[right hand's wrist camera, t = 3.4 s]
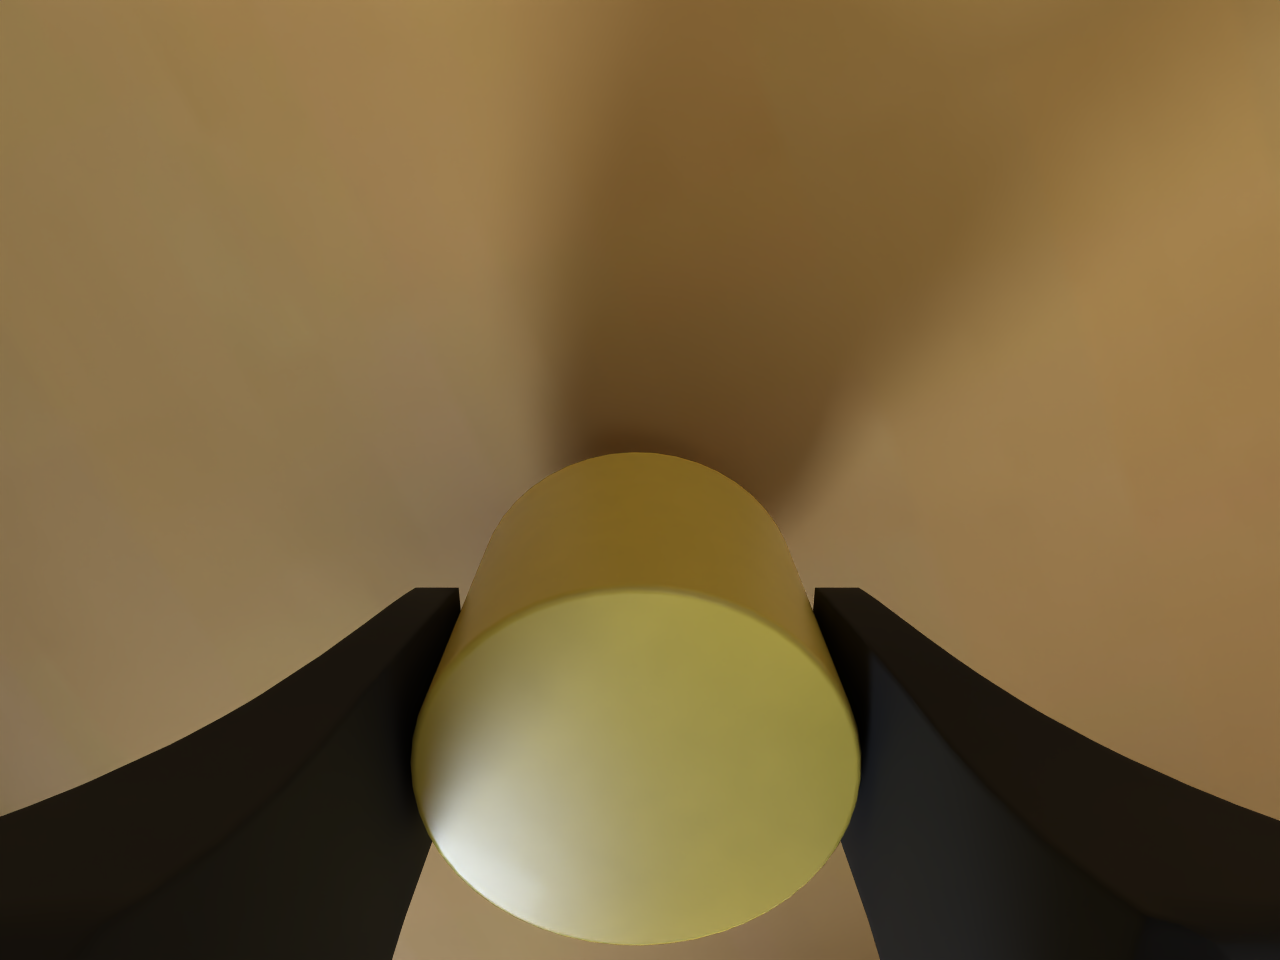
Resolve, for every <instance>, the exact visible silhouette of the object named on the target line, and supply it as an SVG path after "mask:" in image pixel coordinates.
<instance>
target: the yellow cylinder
mask: <svg viewBox="0 0 1280 960" xmlns="http://www.w3.org/2000/svg"><path fill="white" fill-rule="evenodd" d="M410 763H411V775H412V786H413V791H414V795H415V799H416V803H417V807H418V811H419V814H420V816H421V819H422V821H423V823H424V826H425V828H426V830H427V833H428V835H429V836H430V838H431V840H432V841H433V843H434V845H435V846H436V848H437V850H438V851H439V853H440V854H441V856H442V857H443V858H444V859H445V861H446V862H447V863H448V864H449V865H450V867H451V868H452V869H453V870H454V872H455V873H456V874H457V875H458V876H459V877H460V878H461V879H463V880H464V881H465V882H466V883H467V884H468V885H469V886H470V887H471V888H472V889H473V890H474V891H476V892H477V893H478V894H480V895H481V896H482V897H484V898H485V899H487V900H488V901H489V902H491V903H492V904H493V905H495V906H497V907H498V908H500V909H502V910H504V911H505V912H507V913H509V914H510V915H512V916H514V917H516V918H518V919H520V920H522V921H525V922H527V923H529V924H532V925H534V926H536V927H538V928H541V929H544V930H547V931H550V932H553V933H556V934H560V935H563V936H566V937H571V938H576V939H580V940H585V941H589V942H597V943H605V944H614V945H656V944H670V943H676V942H682V941H688V940H694V939H698V938H702V937H706V936H709V935H713V934H717V933H721V932H723V931H726V930H728V929H731V928H734V927H736V926H739V925H742V924H744V923H746V922H748V921H750V920H752V919H754V918H756V917H758V916H760V915H762V914H764V913H766V912H768V911H770V910H771V909H773V908H774V907H776V906H777V905H779V904H780V903H782V902H784V901H785V900H787V899H788V898H789V897H791V896H792V895H793V894H794V893H795V892H797V891H798V890H799V889H800V888H801V887H803V886H804V885H805V884H806V883H808V881H809V880H810V879H811V878H812V877H813V876H814V875H815V874H816V873H817V872H818V871H819V870H820V869H821V868H822V867H823V865H824V864H825V863H826V862H827V860H828V859H829V857H830V856H831V855H832V853H833V852H834V850H835V849H836V848H837V846H838V844H839V843H840V841H841V839H842V837H843V835H844V833H845V831H846V829H847V827H848V825H849V823H850V820H851V817H852V814H853V811H854V808H855V805H856V802H857V797H858V791H859V785H860V780H861V746H860V740H859V733H858V727H857V724H856V721H855V718H854V715H853V712H852V709H851V706H850V704H849V701H848V698H847V696H846V693H845V691H844V688H843V686H842V683H841V681H840V678H839V676H838V673H837V671H836V668H835V666H834V663H833V661H832V658H831V656H830V653H829V650H828V648H827V645H826V643H825V640H824V638H823V635H822V633H821V630H820V628H819V625H818V623H817V620H816V618H815V615H814V613H813V610H812V608H811V605H810V603H809V600H808V597H807V595H806V592H805V590H804V587H803V585H802V582H801V580H800V577H799V575H798V572H797V570H796V567H795V565H794V562H793V560H792V557H791V555H790V552H789V549H788V547H787V544H786V542H785V540H784V538H783V536H782V534H781V532H780V530H779V529H778V527H777V525H776V524H775V522H774V521H773V519H772V518H771V517H770V515H769V514H768V512H767V511H766V510H765V509H764V508H763V506H762V505H761V504H760V503H759V502H758V501H757V500H756V499H755V498H754V497H753V496H752V495H751V494H750V493H748V492H747V491H746V490H745V489H743V488H742V487H741V486H740V485H738V484H737V483H736V482H734V481H733V480H731V479H729V478H728V477H726V476H724V475H723V474H721V473H719V472H718V471H716V470H713V469H711V468H709V467H706V466H704V465H702V464H699V463H697V462H694V461H690V460H687V459H683V458H680V457H676V456H670V455H664V454H658V453H641V452H629V453H618V454H608V455H604V456H599V457H595V458H590V459H587V460H584V461H581V462H578V463H575V464H572V465H570V466H567V467H565V468H563V469H561V470H559V471H557V472H555V473H553V474H551V475H549V476H548V477H546V478H545V479H543V480H542V481H540V482H539V483H537V484H536V485H534V486H533V487H532V488H530V489H529V490H528V491H527V492H526V493H525V494H524V495H523V496H522V497H520V498H519V499H518V500H517V501H516V502H515V503H514V504H513V506H512V507H511V508H510V509H509V510H508V512H507V513H506V514H505V515H504V516H503V518H502V520H501V521H500V523H499V524H498V526H497V528H496V529H495V531H494V533H493V534H492V537H491V539H490V541H489V544H488V546H487V548H486V551H485V553H484V556H483V558H482V560H481V563H480V565H479V568H478V570H477V573H476V575H475V578H474V580H473V582H472V585H471V587H470V590H469V592H468V595H467V597H466V599H465V602H464V604H463V607H462V609H461V612H460V614H459V617H458V619H457V621H456V624H455V626H454V629H453V631H452V634H451V636H450V639H449V641H448V643H447V646H446V648H445V651H444V653H443V656H442V658H441V661H440V663H439V665H438V668H437V670H436V673H435V675H434V678H433V680H432V682H431V685H430V687H429V690H428V692H427V695H426V697H425V700H424V702H423V704H422V707H421V709H420V712H419V714H418V718H417V722H416V726H415V730H414V734H413V738H412V749H411V762H410Z"/></svg>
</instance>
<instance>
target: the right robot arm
mask: <svg viewBox="0 0 1280 960" xmlns="http://www.w3.org/2000/svg"><path fill="white" fill-rule="evenodd" d="M460 612H461V608H460V598H459V588H414V589H413V590H411V591H410V592H408V593H406V594H405V595H403V596H402V597H400V598H399V599H398V600H396V601H395V602H393V603H392V604H391V605H389V606H388V607H387V608H385V609H384V610H383V611H381V612H380V613H378V614H377V615H376V616H374V617H373V618H372V619H370V620H369V621H368V622H366V623H365V624H364V625H362V626H361V627H359V628H358V629H357V630H355V631H354V632H353V633H351V634H350V635H348V636H347V637H346V638H344V639H343V640H341V641H340V642H339V643H337V644H336V645H335V646H333V647H332V648H330V649H329V650H328V651H326V652H325V653H323V654H322V655H321V656H319V657H318V658H316V659H315V660H313V661H312V662H310V663H308V664H307V665H305V666H304V667H302V668H301V669H299V670H298V671H296V672H295V673H293V674H292V675H290V676H289V677H287V678H286V679H284V680H283V681H281V682H280V683H278V684H276V685H275V686H273V687H272V688H270V689H269V690H267V691H266V692H264V693H263V694H261V695H259V696H258V697H256V698H255V699H253V700H251V701H250V702H248V703H246V704H245V705H243V706H241V707H239V708H238V709H236V710H234V711H232V712H231V713H229V714H227V715H225V716H224V717H222V718H220V719H218V720H216V721H214V722H212V723H211V724H209V725H207V726H205V727H203V728H201V729H199V730H198V731H196V732H194V733H192V734H190V735H188V736H186V737H184V738H182V739H180V740H178V741H176V742H174V743H172V744H171V745H168V746H166V747H164V748H162V749H160V750H158V751H155V752H153V753H151V754H149V755H147V756H144V757H142V758H140V759H138V760H136V761H134V762H131V763H129V764H127V765H125V766H123V767H120V768H118V769H116V770H114V771H112V772H110V773H107V774H105V775H103V776H101V777H99V778H96V779H94V780H92V781H90V782H88V783H85V784H83V785H80V786H78V787H76V788H73V789H71V790H68V791H66V792H63V793H61V794H58V795H56V796H53V797H51V798H48V799H46V800H43V801H41V802H38V803H36V804H33V805H31V806H28V807H25V808H23V809H20V810H17V811H14V812H12V813H9V814H6V815H4V816H1V817H0V960H392V958H393V954H394V951H395V948H396V945H397V941H398V938H399V935H400V932H401V929H402V925H403V922H404V919H405V916H406V913H407V911H408V908H409V905H410V902H411V899H412V897H413V894H414V891H415V888H416V885H417V883H418V880H419V877H420V874H421V871H422V869H423V866H424V863H425V860H426V857H427V855H428V852H429V849H430V846H431V843H432V840H431V838H430V836H429V835H428V833H427V830H426V828H425V826H424V823H423V821H422V819H421V816H420V814H419V811H418V807H417V803H416V799H415V795H414V791H413V786H412V775H411V763H410V762H411V749H412V738H413V734H414V730H415V726H416V722H417V718H418V714H419V712H420V709H421V707H422V704H423V702H424V700H425V697H426V695H427V692H428V690H429V687H430V685H431V682H432V680H433V678H434V675H435V673H436V670H437V668H438V665H439V663H440V661H441V658H442V656H443V653H444V651H445V648H446V646H447V643H448V641H449V639H450V636H451V634H452V631H453V629H454V626H455V624H456V621H457V619H458V617H459V614H460ZM813 613H814V615H815V618H816V620H817V623H818V625H819V628H820V630H821V633H822V635H823V638H824V640H825V643H826V645H827V648H828V650H829V653H830V656H831V658H832V661H833V663H834V666H835V668H836V671H837V673H838V676H839V678H840V681H841V683H842V686H843V688H844V691H845V693H846V696H847V698H848V701H849V704H850V706H851V709H852V712H853V715H854V718H855V721H856V724H857V727H858V733H859V740H860V746H861V780H860V785H859V791H858V797H857V802H856V805H855V808H854V811H853V814H852V817H851V820H850V823H849V825H848V827H847V829H846V831H845V833H844V835H843V837H842V839H841V843H842V846H843V849H844V852H845V855H846V857H847V860H848V863H849V866H850V869H851V872H852V875H853V878H854V880H855V883H856V886H857V889H858V892H859V895H860V898H861V900H862V903H863V906H864V909H865V912H866V915H867V918H868V921H869V924H870V927H871V931H872V934H873V937H874V941H875V944H876V947H877V951H878V954H879V957H880V960H1280V821H1279V820H1276V819H1273V818H1271V817H1268V816H1265V815H1263V814H1260V813H1257V812H1255V811H1252V810H1249V809H1246V808H1244V807H1241V806H1238V805H1236V804H1233V803H1231V802H1228V801H1226V800H1223V799H1221V798H1218V797H1216V796H1214V795H1211V794H1209V793H1206V792H1204V791H1201V790H1199V789H1196V788H1194V787H1191V786H1189V785H1187V784H1185V783H1182V782H1180V781H1178V780H1176V779H1173V778H1171V777H1169V776H1167V775H1164V774H1162V773H1160V772H1158V771H1156V770H1153V769H1151V768H1149V767H1147V766H1144V765H1142V764H1140V763H1138V762H1135V761H1133V760H1131V759H1129V758H1127V757H1125V756H1123V755H1121V754H1119V753H1116V752H1114V751H1112V750H1110V749H1108V748H1106V747H1104V746H1102V745H1100V744H1098V743H1096V742H1094V741H1092V740H1090V739H1089V738H1087V737H1085V736H1083V735H1081V734H1079V733H1077V732H1076V731H1074V730H1072V729H1070V728H1068V727H1066V726H1064V725H1063V724H1061V723H1059V722H1057V721H1055V720H1053V719H1051V718H1050V717H1048V716H1046V715H1044V714H1042V713H1041V712H1039V711H1037V710H1036V709H1034V708H1032V707H1030V706H1029V705H1027V704H1025V703H1024V702H1022V701H1020V700H1019V699H1017V698H1016V697H1014V696H1012V695H1011V694H1009V693H1008V692H1006V691H1005V690H1003V689H1001V688H1000V687H998V686H997V685H995V684H994V683H992V682H991V681H989V680H987V679H986V678H984V677H983V676H981V675H980V674H978V673H977V672H975V671H974V670H972V669H971V668H969V667H968V666H966V665H965V664H963V663H962V662H961V661H959V660H958V659H956V658H955V657H953V656H952V655H951V654H949V653H948V652H946V651H945V650H944V649H942V648H941V647H939V646H938V645H937V644H935V643H934V642H933V641H931V640H930V639H928V638H927V637H926V636H924V635H923V634H922V633H920V632H919V631H918V630H916V629H915V628H914V627H912V626H911V625H910V624H908V623H907V622H906V621H904V620H903V619H902V618H900V617H899V616H898V615H896V614H895V613H894V612H892V611H891V610H890V609H888V608H887V607H886V606H884V605H883V604H882V603H880V602H879V601H878V600H876V599H875V598H873V597H872V596H871V595H869V594H868V593H866V592H865V591H863V590H861V589H860V588H815V595H814V606H813Z"/></svg>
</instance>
